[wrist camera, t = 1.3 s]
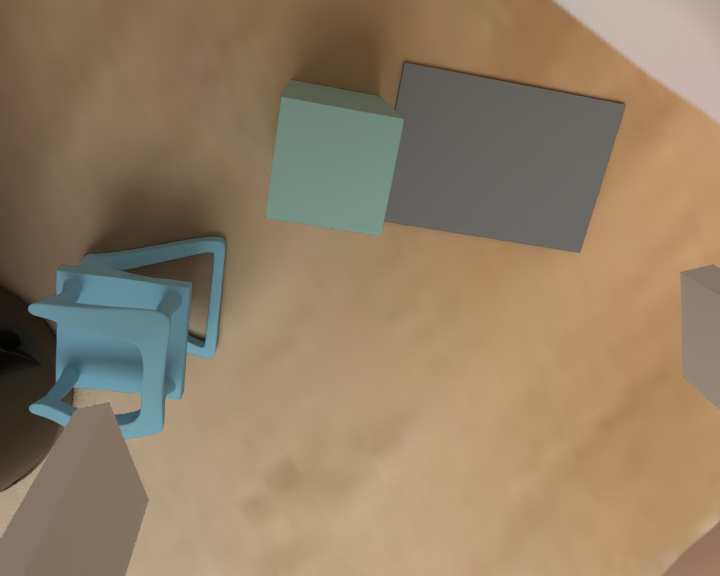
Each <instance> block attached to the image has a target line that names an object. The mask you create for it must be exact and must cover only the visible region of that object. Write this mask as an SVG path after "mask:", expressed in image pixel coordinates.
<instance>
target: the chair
mask: <svg viewBox="0 0 720 576" xmlns="http://www.w3.org/2000/svg"><path fill="white" fill-rule="evenodd" d="M206 252H211V253H213V255H214V263H213V272H212V282H211V291H210V300H209V310H208V319H207V328H206V337H205V341H201V340H198V339H196V338H194V337H192V336H190V335H188V327H189V318H190V308H191V296H192V284H193V282H188V281H180V280H173V279H164V278H153V277H147V276H142V275H137V274H132V273H127V272H123V271H122V270H127V269H132V268H137V267H142V266H147V265H151V264H156V263H160V262H165V261H169V260H174V259H178V258H183V257H187V256H192V255H196V254H201V253H206ZM225 252H226V241H225V239H224V238H222V237H215V236H212V237H201V238H195V239H188V240H182V241H177V242H171V243H165V244H160V245H154V246H149V247H143V248H138V249H132V250H126V251H119V252H110V253H97V254H88V255H86V256H85V257H84V258H83V259H82V261H81V263H80V266H67V265H62V266H61V267H60V268H59V269H58V270H56V296H51V297H47V298H44V299H42V300H40V301H37V302H35V303H32V304H31V305H29V306H28V311H29V312H30V313H31V314H33V315H35V316H38V317H42V318H46V319H49V320H52V321H55V322H57V347H56V384H55V385H54V386H53V387H52V389H51V390H50V391H49V392H48V393H47V395H46V396H44V397H43V398H41V399H39V400H38V401H36V402H34V403H33V404H31V405H30V406H29V410H30V412H32V413H34V414H36V415H40V416H43V417H46V418H48V419H51V420H53V421H55V422H57V423H58V424H60V425H62V426H64V427H66V425H67V423H68V422H69V420H70V418H71V416H72V415H73V413H74V411H75V410H77V408H75V407H73V406H70V405H68V404H66V403H64V402H63V401H61V399H62V398H63V397H64V396H65V395H66V394H67V393H68V392H69V391H70V390H71V389H72V388H73V387H74V388H83V389H97V390H109V391H118V392H126V393H134V394H141V395H142V398H141V409H140V410H138V411H135V412H130V413H126V414H117V415H115V418H116V420H117V423H118V425H119V428H120V430H121V433H122V435H123V438H124V439H132V438H137V437H143V436H148V435H153V434H156V433H159V432H161V431H162V430H163V427H164V415H165V398H170V399H178V400H181V397H182V395H183V392H184V382H185V369H186V352H188V353H190V354H193V355H196V356H200V357H203V358H212V357H213V356H214V354H215V351H216V346H217V336H218V325H219V315H220V304H221V294H222V283H223V273H224V262H225Z"/></svg>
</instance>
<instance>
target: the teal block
mask: <svg viewBox="0 0 720 576" xmlns="http://www.w3.org/2000/svg"><path fill="white" fill-rule="evenodd" d="M403 123H404V118H402V117H401V116H400V115H399V114H398V113H397V112H396V111H395V110H394V109H393V108H392V107H391V106H390V105H389V104H388V103H386V102H385V101H384V100H383V99H382V98H381V97H380V96H377V95H372V94H366V93H361V92H355V91H350V90H344V89H339V88H334V87H328V86H323V85H317V84H312V83H306V82H301V81H295V80H290V82H289V84H288V86H287V88H286V89H285V91H284V93H283V95H282V97H281V103H280V111H279V118H278V126H277V133H276V140H275V148H274V155H273V163H272V170H271V178H270V185H269V192H268V200H267V207H266V215H265V218H268V219H275V220H281V221H287V222H294V223H300V224H306V225H313V226H319V227H325V228H332V229H338V230H344V231H351V232H357V233H364V234H370V235H376V236H381V233H382V228H383V223H384V218H385V213H386V208H387V203H388V198H389V193H390V188H391V183H392V178H393V173H394V168H395V163H396V158H397V153H398V148H399V143H400V138H401V133H402V128H403Z"/></svg>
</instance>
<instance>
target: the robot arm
mask: <svg viewBox="0 0 720 576" xmlns="http://www.w3.org/2000/svg"><path fill="white" fill-rule="evenodd" d="M680 276H681V322H682V367H683V378H684V379H686V380H687V381H688V382H689V383H690V384H691V385H692V386H694V387H695V388H696V389H697V390H698V391H699V392H700V393H702V394H703V395H704V396H705V397H706V398H707V399H708V400H710V401H711V402H712V403H713V404H714V405H715V406H716V407H717V408H719V409H720V268H719V267H717V266H715V265H709V266H705V267H700V268H696V269H692V270H687V271H683V272H680ZM56 347H57V338H56V337H55V335H54V334H53V332H52V331H51V329H50V328H49V327H48V325H47V324H46V323H45V322H44V321H43V319H42V318H41V317H38V316H35V315H33V314H31V313H30V312H29V311H28V305H27V304H26V303H25V302H23V301H22V300H21V299H20V298H18V297H17V296H15V295H14V294H12V293H11V292H9V291H8V290H6V289H4V288H3V287H1V286H0V492H2V491H4V490H6V489H8V488H10V487H12V486H13V485H15V484H17V483H18V482H20V481H21V480H23V479H24V478H26V477H27V476H28V475H29V474H31V473H32V472H33V471H34V470H35V469H36V468H37V467H38V466H39V465H40V464H41V463H42V461H43V460H44V459H45V458H46V456H47V455H48V454H49V452H50V451H51V449H52V448H53V446H54V444H55V443H56V444H55V446H54V448H53V449H52V451H51V453H50V454H49V456H48V458H47V460H46V461H45V463H44V465H43V466H42V468H41V470H40V472H39V473H38V475H37V477H36V479H35V480H34V482H33V484H32V485H31V487H30V489H29V491H28V492H27V494H26V496H25V498H24V499H23V501H22V503H21V504H20V506H19V508H18V510H17V511H16V513H15V515H14V516H13V518H12V520H11V522H10V523H9V525H8V527H7V529H6V530H5V532H4V534H3V535H2V537H1V539H0V576H125V575H126V571H127V568H128V565H129V562H130V558H131V555H132V552H133V549H134V545H135V542H136V539H137V536H138V533H139V529H140V526H141V523H142V520H143V516H144V513H145V510H146V507H147V504H148V500H149V499H148V497H147V495H146V492H145V490H144V487H143V485H142V482H141V480H140V477H139V475H138V472H137V470H136V467H135V465H134V462H133V460H132V457H131V455H130V452H129V450H128V447H127V445H126V443H125V440H124V438H123V435H122V433H121V430H120V428H119V425H118V423H117V420H116V418H115V415H114V413H113V410H112V408H111V405H110V403H109V402H107V403H103V404H99V405H94V406H90V407H85V408H81V409H77V410H75V411H74V413H73V415H72V416H71V418H70V420H69V422H68V423H67V425H66V427H64V426H62V425H60V424H58V423H57V422H55V421H53V420H51V419H48V418H46V417H43V416H40V415H36V414H34V413H32V412H30V410H29V406H30V405H31V404H33V403H34V402H36V401H38V400H39V399H41V398H43V397H44V396H46V395H47V393H48V392H49V391H50V390H51V389H52V387H53V386H54V385H55V384H56ZM72 398H73V388H72V389H71V390H70V391H69V392H68V393H67V394H66V395H65V396H64V397H63V398H62V399H61V401H63V402H64V403H66V404H68V405H70V406H72ZM64 428H65V429H64ZM61 433H62V434H61ZM58 438H59V439H58ZM57 440H58V441H57ZM56 441H57V442H56Z"/></svg>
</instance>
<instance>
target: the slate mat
mask: <svg viewBox="0 0 720 576" xmlns="http://www.w3.org/2000/svg"><path fill="white" fill-rule="evenodd" d="M625 106H626V105H625V104H620V103H614V102H609V101H604V100H599V99H593V98H588V97H583V96H578V95H573V94H567V93H562V92H557V91H552V90H546V89H541V88H536V87H531V86H526V85H520V84H515V83H510V82H505V81H499V80H494V79H489V78H484V77H479V76H473V75H468V74H463V73H458V72H452V71H447V70H442V69H437V68H432V67H426V66H421V65H416V64H411V63H405V62H404V65H403V71H402V76H401V81H400V86H399V91H398V96H397V102H396V107H395V111H396V112H397V113H398V114H399V115H400V116H401V117H402V118H404V123H403V128H402V133H401V138H400V143H399V148H398V153H397V158H396V163H395V168H394V173H393V178H392V183H391V188H390V193H389V198H388V203H387V208H386V213H385V218H384V221H385V222H391V223H397V224H404V225H410V226H416V227H422V228H429V229H435V230H441V231H447V232H454V233H460V234H466V235H472V236H478V237H485V238H491V239H497V240H503V241H510V242H516V243H522V244H528V245H535V246H541V247H547V248H553V249H559V250H566V251H572V252H578V253H580V251H581V248H582V245H583V241H584V238H585V235H586V232H587V229H588V225H589V222H590V219H591V216H592V212H593V209H594V206H595V203H596V200H597V196H598V193H599V190H600V187H601V184H602V180H603V177H604V174H605V171H606V167H607V164H608V161H609V158H610V155H611V151H612V148H613V145H614V142H615V138H616V135H617V132H618V129H619V126H620V122H621V119H622V116H623V113H624V110H625Z"/></svg>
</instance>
